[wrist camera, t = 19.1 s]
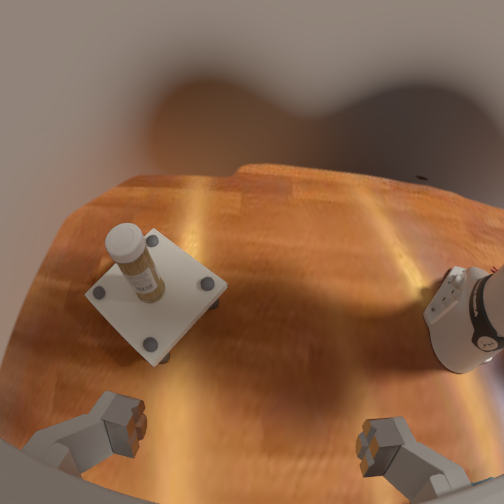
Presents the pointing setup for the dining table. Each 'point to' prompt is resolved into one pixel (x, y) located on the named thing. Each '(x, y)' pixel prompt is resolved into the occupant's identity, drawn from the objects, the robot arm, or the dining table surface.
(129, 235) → the sprinkles bottle
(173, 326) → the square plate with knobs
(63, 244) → the dining table surface
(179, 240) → the dining table surface
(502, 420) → the dining table surface
